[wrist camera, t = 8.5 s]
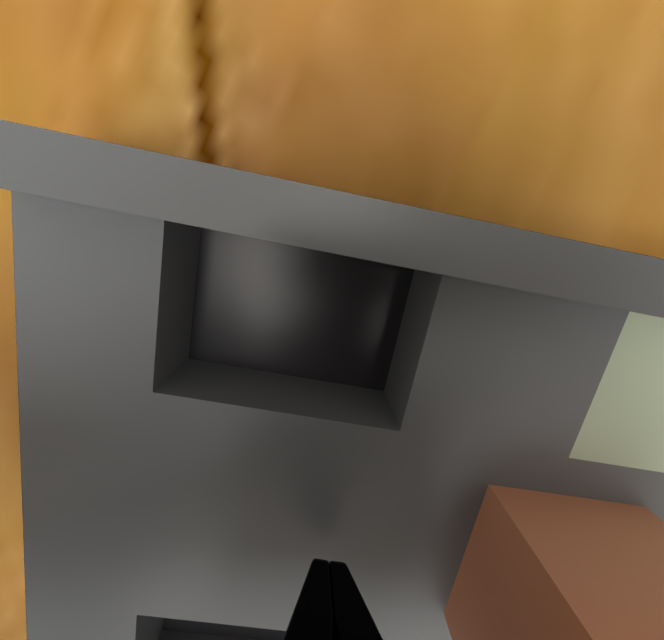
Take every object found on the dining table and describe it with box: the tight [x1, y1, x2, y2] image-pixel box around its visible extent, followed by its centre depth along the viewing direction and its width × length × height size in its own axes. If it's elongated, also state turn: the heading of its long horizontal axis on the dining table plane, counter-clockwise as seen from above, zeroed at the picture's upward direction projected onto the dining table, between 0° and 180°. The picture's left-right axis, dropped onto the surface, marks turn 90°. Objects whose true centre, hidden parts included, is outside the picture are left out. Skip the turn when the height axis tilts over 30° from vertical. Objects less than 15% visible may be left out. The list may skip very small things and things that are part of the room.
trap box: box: [0, 120, 664, 640], centre depth 10 cm, size 20×17×4 cm
